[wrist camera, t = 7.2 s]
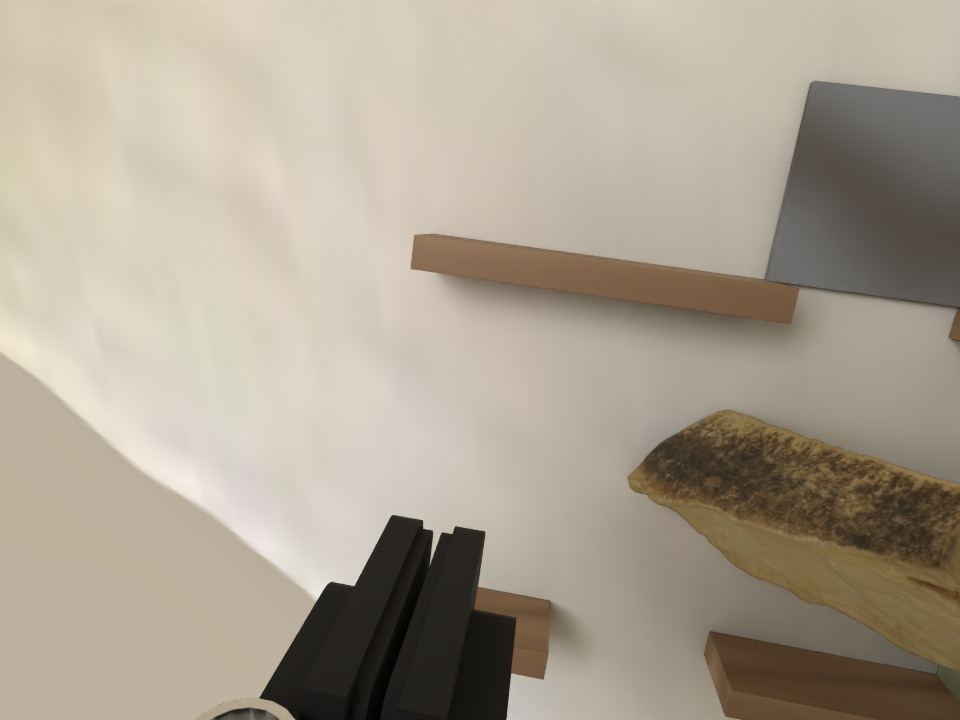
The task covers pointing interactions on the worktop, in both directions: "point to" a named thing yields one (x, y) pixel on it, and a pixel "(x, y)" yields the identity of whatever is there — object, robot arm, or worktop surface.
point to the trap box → (795, 260)
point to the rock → (821, 524)
